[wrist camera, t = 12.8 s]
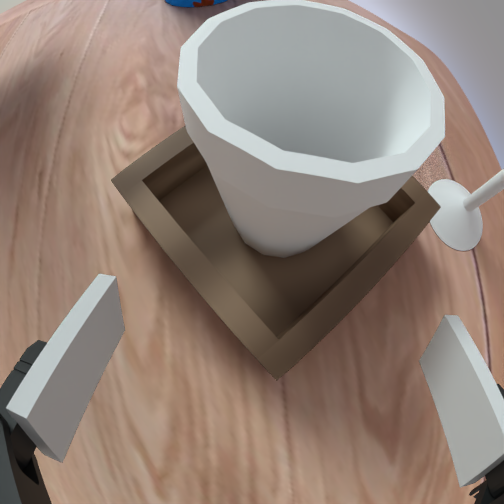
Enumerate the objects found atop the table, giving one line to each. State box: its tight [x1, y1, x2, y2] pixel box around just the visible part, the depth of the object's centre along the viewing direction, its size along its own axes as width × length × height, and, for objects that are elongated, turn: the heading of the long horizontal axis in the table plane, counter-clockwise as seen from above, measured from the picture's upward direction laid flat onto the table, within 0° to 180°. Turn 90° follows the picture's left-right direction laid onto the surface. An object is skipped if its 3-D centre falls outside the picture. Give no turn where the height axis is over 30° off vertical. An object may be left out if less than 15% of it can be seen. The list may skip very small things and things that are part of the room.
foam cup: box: [177, 0, 445, 258], centre depth 15 cm, size 10×9×13 cm
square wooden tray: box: [111, 126, 441, 380], centre depth 20 cm, size 15×15×4 cm
